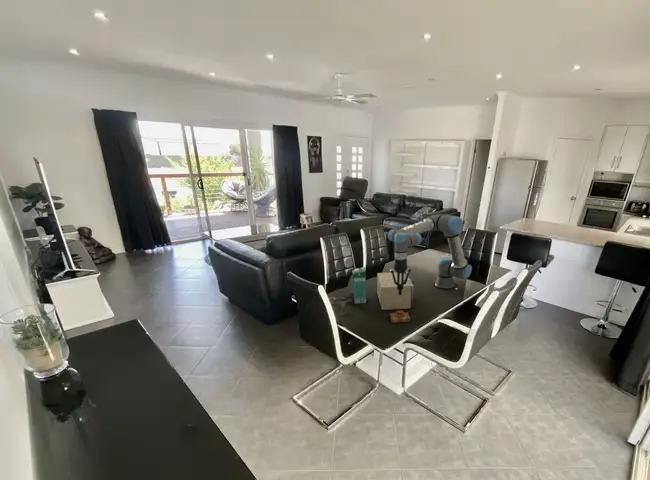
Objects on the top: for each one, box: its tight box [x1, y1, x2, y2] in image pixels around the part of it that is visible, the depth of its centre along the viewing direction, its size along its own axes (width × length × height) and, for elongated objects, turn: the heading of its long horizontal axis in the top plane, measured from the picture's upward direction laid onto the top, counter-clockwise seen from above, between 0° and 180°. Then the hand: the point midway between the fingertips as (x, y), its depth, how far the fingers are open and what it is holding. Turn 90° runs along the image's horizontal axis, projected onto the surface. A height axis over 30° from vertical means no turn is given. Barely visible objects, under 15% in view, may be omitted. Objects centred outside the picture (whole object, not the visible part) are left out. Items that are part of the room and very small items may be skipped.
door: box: [408, 275, 415, 309], centre depth 230 cm, size 5×21×17 cm, turn 6°
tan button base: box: [389, 311, 411, 324], centre depth 209 cm, size 12×9×4 cm
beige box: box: [376, 271, 411, 311], centre depth 232 cm, size 22×28×17 cm
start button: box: [396, 309, 404, 315], centre depth 208 cm, size 4×4×2 cm
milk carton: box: [352, 266, 368, 305], centre depth 231 cm, size 9×9×25 cm
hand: (399, 294), depth 203 cm, fingers closed
